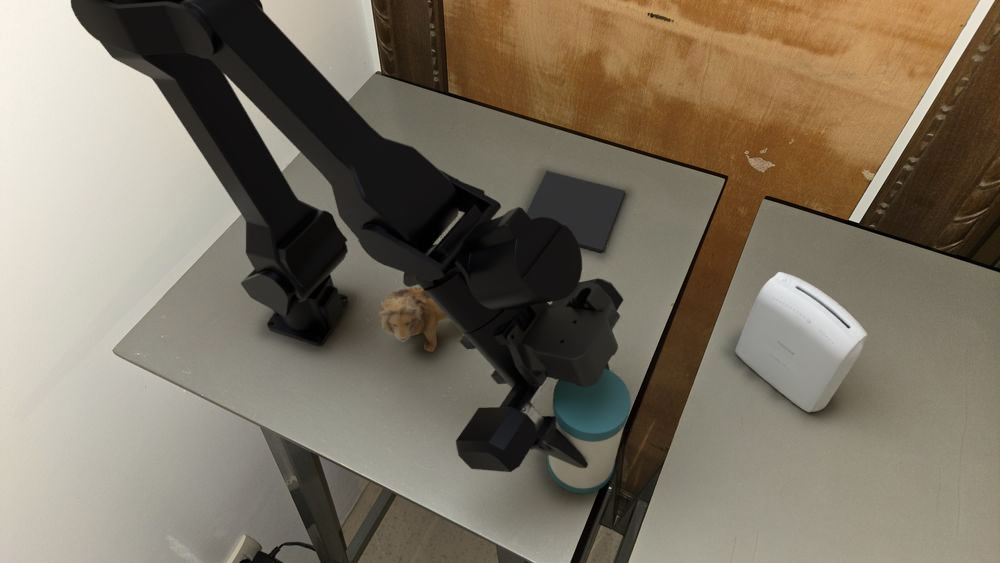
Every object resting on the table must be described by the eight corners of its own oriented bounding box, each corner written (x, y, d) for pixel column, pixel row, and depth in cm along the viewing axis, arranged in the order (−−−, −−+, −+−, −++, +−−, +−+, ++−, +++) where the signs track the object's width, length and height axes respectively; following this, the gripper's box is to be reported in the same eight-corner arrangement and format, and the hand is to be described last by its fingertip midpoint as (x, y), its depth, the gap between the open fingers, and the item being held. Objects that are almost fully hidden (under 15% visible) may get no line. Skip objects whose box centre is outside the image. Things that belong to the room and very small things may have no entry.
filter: (537, 480, 69) (542, 418, 59) (558, 422, 72) (566, 355, 63) (603, 503, 67) (619, 443, 58) (621, 443, 71) (639, 378, 62)
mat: (519, 230, 88) (519, 227, 87) (546, 173, 93) (546, 170, 93) (602, 253, 85) (602, 250, 85) (625, 194, 91) (625, 190, 91)
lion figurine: (401, 380, 75) (390, 329, 68) (377, 342, 78) (365, 290, 71) (524, 315, 80) (526, 261, 73) (497, 281, 83) (496, 227, 76)
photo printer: (726, 351, 77) (757, 277, 67) (753, 329, 79) (787, 253, 69) (809, 422, 72) (856, 352, 62) (836, 396, 74) (886, 325, 64)
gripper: (485, 394, 48) (622, 542, 53) (614, 209, 58) (719, 350, 63) (398, 398, 57) (523, 525, 62) (523, 237, 66) (621, 359, 72)
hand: (600, 437), depth 64 cm, fingers closed on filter, 6 cm apart
